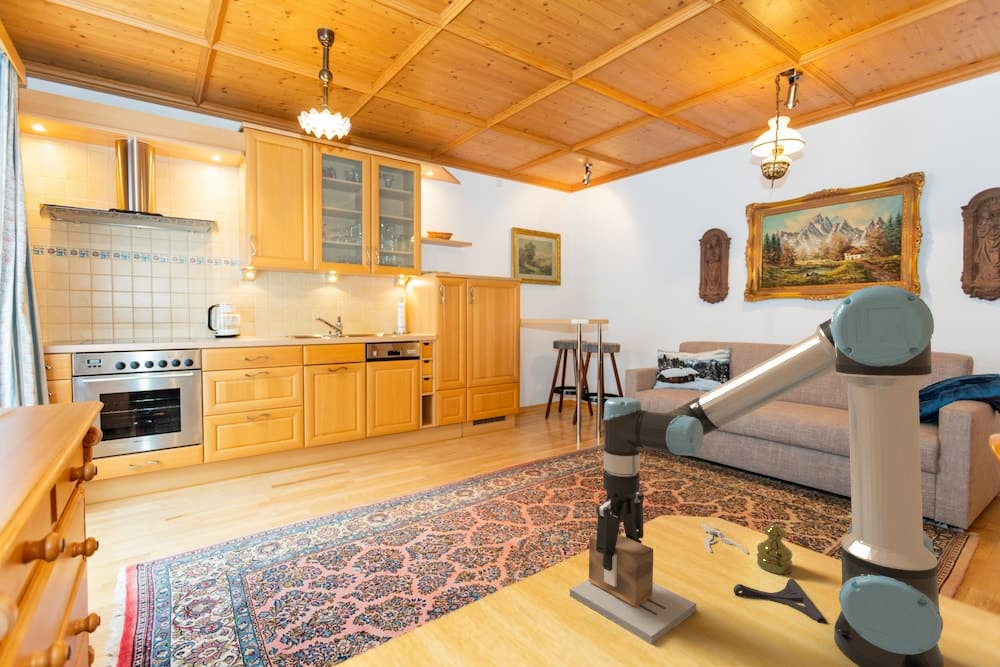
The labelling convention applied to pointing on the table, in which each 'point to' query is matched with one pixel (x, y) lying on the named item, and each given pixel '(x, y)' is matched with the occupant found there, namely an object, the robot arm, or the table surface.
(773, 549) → the brass door knob
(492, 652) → the table surface
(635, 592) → the block
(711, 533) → the pliers
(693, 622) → the table surface
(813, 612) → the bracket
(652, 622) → the board
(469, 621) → the table surface
